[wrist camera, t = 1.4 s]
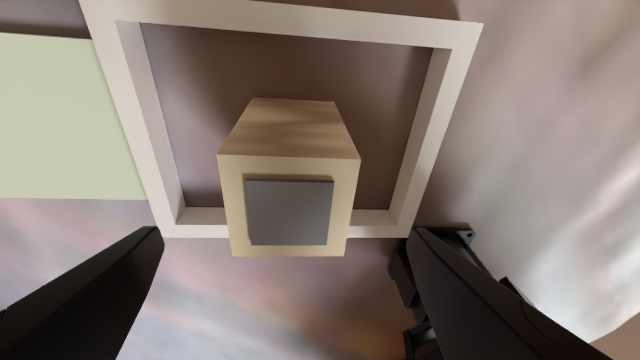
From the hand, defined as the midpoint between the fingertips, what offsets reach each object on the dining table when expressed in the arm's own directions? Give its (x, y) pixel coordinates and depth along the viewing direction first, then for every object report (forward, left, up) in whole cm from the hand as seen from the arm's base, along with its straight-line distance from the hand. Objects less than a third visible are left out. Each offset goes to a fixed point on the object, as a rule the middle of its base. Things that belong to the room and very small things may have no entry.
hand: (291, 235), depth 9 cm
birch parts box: (0, 0, -9) cm, 9 cm away
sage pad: (+15, 0, -9) cm, 18 cm away
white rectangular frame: (0, 0, -9) cm, 9 cm away
